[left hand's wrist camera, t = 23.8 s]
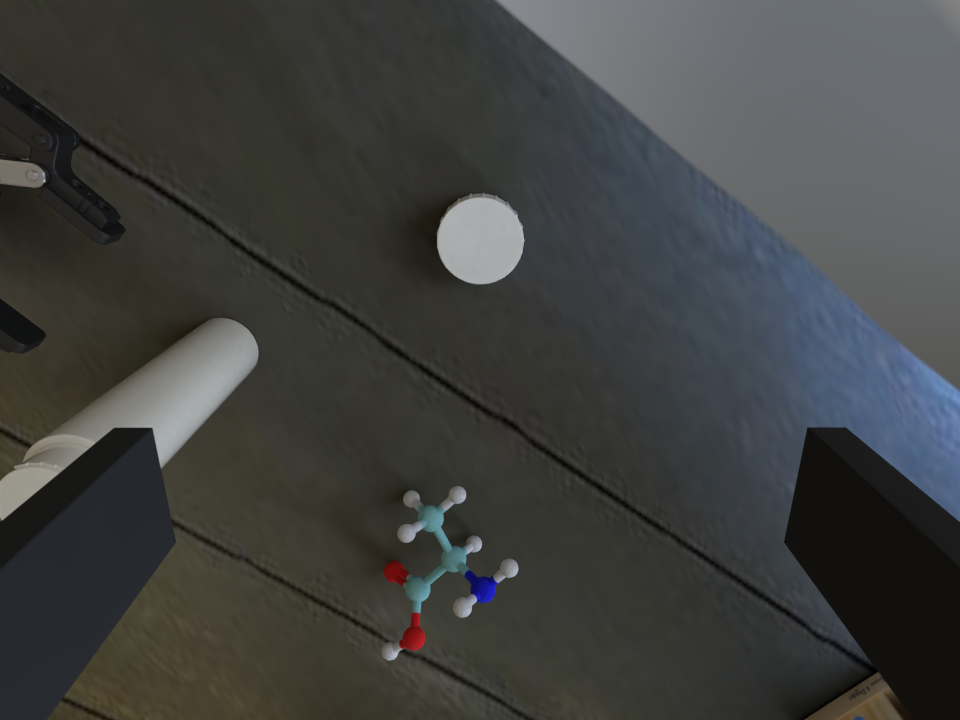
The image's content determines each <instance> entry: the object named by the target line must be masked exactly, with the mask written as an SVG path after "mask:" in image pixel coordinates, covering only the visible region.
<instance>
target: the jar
mask: <svg viewBox="0 0 960 720" xmlns="http://www.w3.org/2000/svg"><path fill="white" fill-rule="evenodd" d="M257 361H258V346H257V343H256V341H255V339H254V337H253V335H252V334H251V333H250V331H249V330H248V329H247V328H246V327H244V326H243V325H242V324H240V323H238V322H236V321H234V320H231V319H226V318H214V319H210V320H207V321H205V322H203V323H202V324H201V325H199V326H198V327H196V328H195V329H194V330H192V331H191V332H189V333H188V334H187V335H185V336H184V337H183V338H181V339H180V340H178V341H177V342H176V343H174V344H173V345H171V346H170V347H169V348H167V349H166V350H164V351H163V352H162V353H160V354H159V355H157V356H156V357H155V358H153V359H152V360H150V361H149V362H148V363H146V364H145V365H143V366H142V367H141V368H139V369H138V370H136V371H135V372H134V373H132V374H131V375H129V376H128V377H127V378H125V379H124V380H122V381H121V382H120V383H118V384H117V385H116V386H114V387H113V388H111V389H110V390H109V391H107V392H106V393H104V394H103V395H102V396H100V397H99V398H97V399H96V400H95V401H93V402H92V403H90V404H89V405H88V406H86V407H85V408H83V409H82V410H81V411H79V412H78V413H76V414H75V415H74V416H72V417H71V418H69V419H68V420H67V421H65V422H64V423H62V424H61V425H60V426H58V427H57V428H56V429H54V430H53V431H51V432H50V433H49V434H47V435H46V436H44V437H43V438H42V439H40V440H39V441H37V442H36V443H35V444H33V445H32V446H31V448H30V449H29V450H28V452H27V453H26V455H25V457H24V460H23V463H22V464H19V465H16V466H14V468H15V469H14V470H12V471H11V472H10V473H8V474H7V475H6V476H4V477H3V478H2V479H1V481H0V519H1V520H3V519H5V518H6V517H7V516H8V515H9V514H11V513H12V512H13V511H14V510H15V509H17V508H18V507H19V506H20V505H21V504H23V503H24V502H25V501H26V500H27V499H29V498H30V497H31V496H32V495H33V494H35V493H36V492H37V491H38V490H40V489H41V488H42V487H43V486H44V485H46V484H47V483H48V482H49V481H50V480H52V479H53V478H54V477H55V476H56V475H58V474H59V473H60V472H61V471H62V470H64V469H65V468H66V467H67V466H68V465H70V464H71V463H72V462H73V461H75V460H76V459H77V458H78V457H79V456H81V455H82V454H83V453H84V452H85V451H87V450H88V449H89V448H90V447H91V446H93V445H94V444H95V443H96V442H97V441H99V440H100V439H101V438H102V437H103V436H105V435H106V434H107V433H108V432H109V431H111V430H112V429H113V428H153V433H154V438H155V443H156V447H157V452H158V457H159V462H160V467H161V469H162V468H163V467H164V466H165V465H166V464H167V463H168V461H169V460H170V459H171V458H172V457H173V456H174V455H175V454H176V453H177V452H178V451H179V450H180V448H181V447H182V446H183V445H184V444H185V443H186V442H187V441H188V440H189V439H190V438H191V437H192V435H193V434H194V433H195V432H196V431H197V430H198V429H199V428H200V427H201V426H202V425H203V424H204V422H205V421H206V420H207V419H208V418H209V417H210V416H211V415H212V414H213V413H214V412H215V411H216V410H217V408H218V407H219V406H220V405H221V404H222V403H223V402H224V401H225V400H226V399H227V398H228V397H229V395H230V394H231V393H232V392H233V391H234V390H235V389H236V388H237V387H238V386H239V385H240V384H241V382H242V381H243V380H244V379H245V378H246V377H247V376H248V375H249V374H250V373H251V372H252V370H253V369H254V368H255V366H256V364H257Z"/></svg>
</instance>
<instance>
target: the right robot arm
mask: <svg viewBox="0 0 960 720" xmlns="http://www.w3.org/2000/svg"><path fill="white" fill-rule="evenodd" d="M0 124H1V125H2V126H4V127H5V128H6V129H8V130H9V131H10V132H12V133H13V134H14V135H16V136H17V137H19V138H20V139H21V140H23V141H24V142H25V143H27V144H28V145H29V146H31V152H30V157H29V156H24V155H15V154H7V153H0V184H8V185H16V186H25V187H33V188H37V187H38V188H39V189H40V190H42V192H41V193H40V194H39V196H38V197H39V198H41V199H42V200H43V201H44V202H46V203H47V204H48V205H49V206H51V207H52V208H53V209H54V210H56V211H57V212H58V213H59V214H61V215H62V216H63V217H64V218H66V219H67V220H68V221H69V222H71V223H72V224H73V225H74V226H76V227H77V228H78V229H79V230H80V231H82V232H83V233H84V234H85V235H87V236H88V237H89V238H90V239H92V240H93V241H95V242H96V243H98V244H102V245H106V244H109V243H112V242H115V241H118V240H119V239H120V238H121V236H122V235H123V234H124V232H125V231H126V230H125V228H124V227H123V225H121V224H120V223H119V222H118V221H119V219H120V218H121V217H120V215H119V214H118V212H117V211H116V209H115V208H114V207H113V206H112V205H110V204H109V203H108V202H107V201H105V200H104V199H103V198H102V197H101V196H99V195H98V194H97V193H96V192H95V191H93V190H92V189H91V188H90V187H88V186H87V185H86V184H85V183H84V182H82V181H81V180H80V179H79V178H78V177H77V176H76V175H75V174H74V173H73V171H72V168H71V158H72V153H73V150H75V149H77V148H78V147H79V145H80V137H79V134H78V133H77V132H76V131H75V130H74V129H73V128H72V127H70V126H69V125H68V124H66V123H65V122H64V121H62V120H61V119H60V118H58V117H57V116H56V115H55V114H53V113H52V112H51V111H49V110H48V109H47V108H45V107H44V106H43V105H41V104H40V103H39V102H37V101H36V100H35V99H34V98H32V97H31V96H30V95H28V94H27V93H26V92H24V91H23V90H22V89H20V88H19V87H18V86H16V85H15V84H14V83H13V82H11V81H10V80H9V79H7V78H6V77H5V76H3V75H2V74H1V73H0ZM0 195H1V193H0ZM45 337H46V334H45V332H44V331H43V330H42V329H40V328H39V327H38V326H36V325H35V324H33V323H32V322H31V321H29V320H28V319H27V318H25V317H24V316H23V315H21V314H20V313H19V312H17V311H16V310H15V309H13V308H12V307H11V306H9V305H8V304H7V303H5V302H4V301H3V300H1V299H0V350H3V351H6V352H11V351H13V352H15V353H25V352H27V351H29V350H31V349H33V348H35V347H37V346H39V345H40V343H41V342H42V341H43V340H44V338H45Z"/></svg>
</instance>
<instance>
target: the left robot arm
mask: <svg viewBox="0 0 960 720" xmlns="http://www.w3.org/2000/svg"><path fill="white" fill-rule="evenodd" d="M175 543H176V540H175V535H174V531H173V526H172V521H171V516H170V511H169V506H168V501H167V496H166V491H165V487H164V482H163V477H162V472H161V467H160V462H159V457H158V452H157V447H156V443H155V438H154V433H153V428H113V429H112V430H111V431H109V432H108V433H107V434H106V435H105V436H103V437H102V438H101V439H100V440H99V441H97V442H96V443H95V444H94V445H93V446H91V447H90V448H89V449H88V450H87V451H85V452H84V453H83V454H82V455H81V456H79V457H78V458H77V459H76V460H75V461H73V462H72V463H71V464H70V465H68V466H67V467H66V468H65V469H64V470H62V471H61V472H60V473H59V474H58V475H56V476H55V477H54V478H53V479H52V480H50V481H49V482H48V483H47V484H46V485H44V486H43V487H42V488H41V489H40V490H38V491H37V492H36V493H35V494H33V495H32V496H31V497H30V498H29V499H27V500H26V501H25V502H24V503H23V504H21V505H20V506H19V507H18V508H17V509H15V510H14V511H13V512H12V513H11V514H9V515H8V516H7V517H6V518H5V519H3V520H2V521H1V522H0V720H47V719H48V717H49V716H50V715H51V713H52V712H53V711H54V709H55V708H56V706H57V705H58V704H59V702H60V701H61V700H62V698H63V697H64V695H65V694H66V693H67V691H68V690H69V689H70V687H71V686H72V684H73V683H74V682H75V680H76V679H77V678H78V676H79V675H80V673H81V672H82V671H83V669H84V668H85V667H86V665H87V664H88V662H89V661H90V660H91V658H92V657H93V656H94V654H95V653H96V651H97V650H98V649H99V647H100V646H101V645H102V643H103V642H104V640H105V639H106V638H107V636H108V635H109V634H110V632H111V631H112V629H113V628H114V627H115V625H116V624H117V623H118V621H119V620H120V618H121V617H122V616H123V614H124V613H125V612H126V610H127V609H128V607H129V606H130V605H131V603H132V602H133V601H134V599H135V598H136V596H137V595H138V594H139V592H140V591H141V590H142V588H143V587H144V586H145V584H146V583H147V581H148V580H149V579H150V577H151V576H152V575H153V573H154V572H155V570H156V569H157V568H158V566H159V565H160V564H161V562H162V561H163V559H164V558H165V557H166V555H167V554H168V553H169V551H170V550H171V548H172V547H173V546H174V544H175ZM784 543H785V544H786V546H787V547H788V548H789V550H790V551H791V553H792V554H793V555H794V557H795V558H796V559H797V561H798V562H799V564H800V565H801V566H802V568H803V569H804V570H805V572H806V573H807V575H808V576H809V577H810V579H811V580H812V581H813V583H814V584H815V586H816V587H817V588H818V590H819V591H820V592H821V594H822V595H823V596H824V598H825V599H826V601H827V602H828V603H829V605H830V606H831V607H832V609H833V610H834V612H835V613H836V614H837V616H838V617H839V618H840V620H841V621H842V623H843V624H844V625H845V627H846V628H847V629H848V631H849V632H850V634H851V635H852V636H853V638H854V639H855V640H856V642H857V643H858V645H859V646H860V647H861V649H862V650H863V651H864V653H865V654H866V656H867V657H868V658H869V660H870V661H871V662H872V664H873V665H874V667H875V668H876V669H877V671H878V672H879V673H880V675H881V676H882V678H883V679H884V680H885V682H886V683H887V684H888V686H889V687H890V689H891V690H892V691H893V693H894V694H895V695H896V697H897V698H898V700H899V701H900V702H901V704H902V705H903V706H904V708H905V709H906V711H907V712H908V713H909V715H910V716H911V717H912V719H913V720H960V522H959V521H958V520H957V519H955V518H954V517H953V516H952V515H951V514H949V513H948V512H947V511H946V510H945V509H943V508H942V507H941V506H940V505H939V504H937V503H936V502H935V501H934V500H933V499H931V498H930V497H929V496H928V495H927V494H925V493H924V492H923V491H922V490H920V489H919V488H918V487H917V486H916V485H914V484H913V483H912V482H911V481H910V480H908V479H907V478H906V477H905V476H904V475H902V474H901V473H900V472H899V471H898V470H896V469H895V468H894V467H893V466H892V465H890V464H889V463H888V462H887V461H885V460H884V459H883V458H882V457H881V456H879V455H878V454H877V453H876V452H875V451H873V450H872V449H871V448H870V447H869V446H867V445H866V444H865V443H864V442H863V441H861V440H860V439H859V438H858V437H857V436H855V435H854V434H853V433H852V432H851V431H849V430H848V429H847V428H807V433H806V438H805V443H804V447H803V452H802V457H801V462H800V467H799V472H798V477H797V482H796V487H795V491H794V496H793V501H792V506H791V511H790V516H789V521H788V526H787V531H786V535H785V540H784Z"/></svg>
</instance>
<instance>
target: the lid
mask: <svg viewBox="0 0 960 720" xmlns="http://www.w3.org/2000/svg"><path fill="white" fill-rule="evenodd" d="M517 216H518V215H517V213H516V211H514V210H513V209H512V208H511V207H510V206H509V204H508V202H505V201H503V200H502V199H500V198H498V197H497V196H496V195H495V196H493V195H489V194H484V192H483V194H482V193H480V194H472V193H470V195H468V196H465V197H463V198H461V199H460V198H458V200H457V201H456V202H455V203H454V204H452V205H451V206H449V207H448V209H447V211H446V213H445V215H444V217H442V218H441V220H440V222H441V224H440V226H439V229H438V231H437V234H436V235H437V248H438V252H439V255H440V258H441V260H442V262H443V264H444V265H445V266H446V268H447V269H448V270H449V271H450V272H451V273H452V274H453V275H454V276H456V277H457V278H459V279H461V280H463V281H466V282H468V283H473V284H487V283H492V282H495V281H498V280H500V279H502V278H503V277H505V276H506V275H507V274H509V273H510V272H511V271H512V270H513V269H514V267H515V266H516V265H517V263H518V261H519V259H520V257H521V254H522V250H523V244H524V237H523V231H522V228H523V226H522V224H521V223H520V222H519V220H518V217H517Z"/></svg>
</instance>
